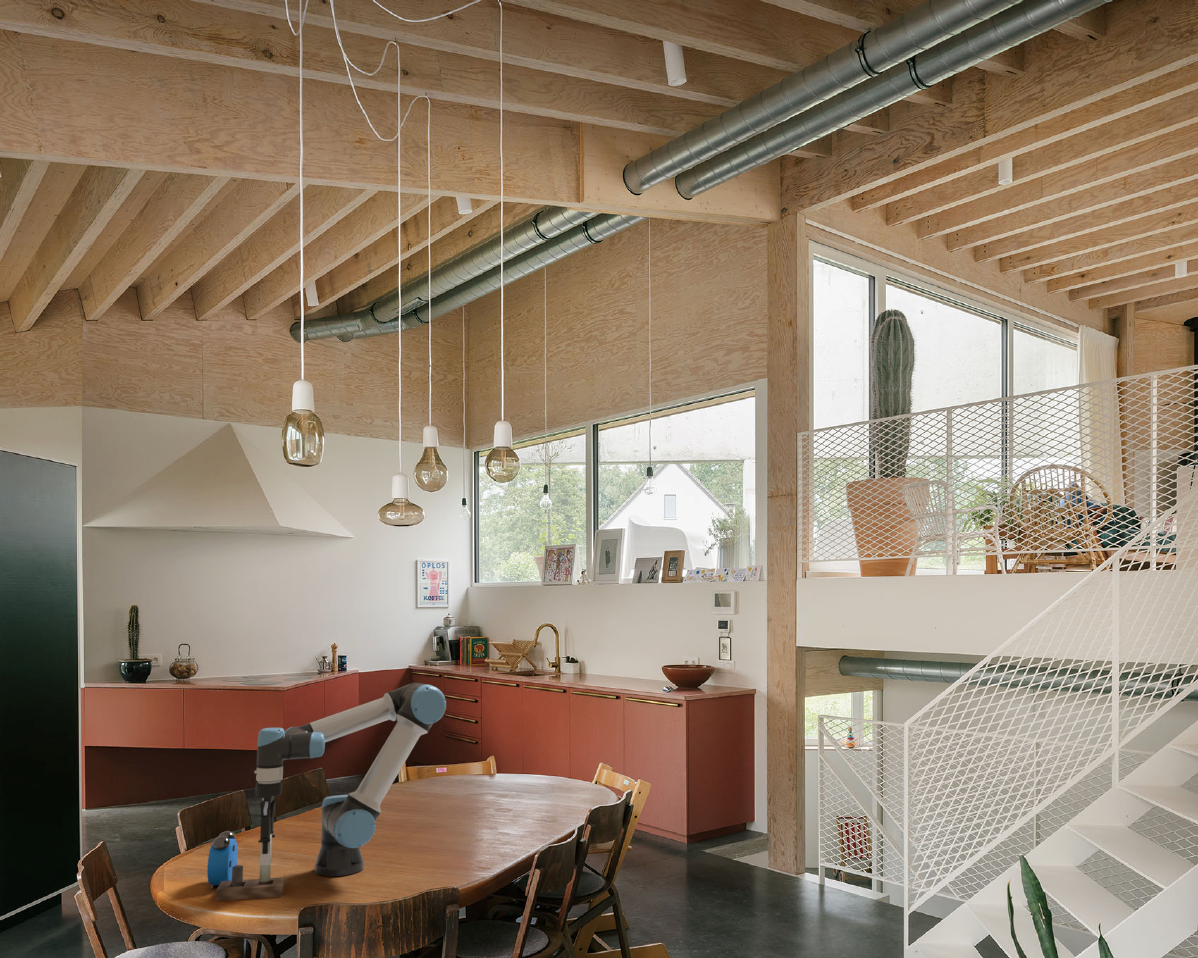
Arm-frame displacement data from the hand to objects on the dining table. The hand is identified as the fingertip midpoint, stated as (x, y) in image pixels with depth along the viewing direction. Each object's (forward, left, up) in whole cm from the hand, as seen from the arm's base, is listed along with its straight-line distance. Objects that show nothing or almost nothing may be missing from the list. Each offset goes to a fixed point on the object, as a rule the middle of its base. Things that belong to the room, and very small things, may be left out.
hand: (265, 862), depth 282 cm
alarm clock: (+14, -12, -9) cm, 20 cm away
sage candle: (0, 0, -5) cm, 5 cm away
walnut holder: (+4, 0, -9) cm, 9 cm away
